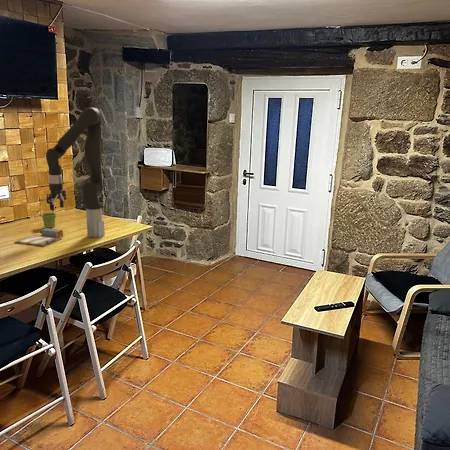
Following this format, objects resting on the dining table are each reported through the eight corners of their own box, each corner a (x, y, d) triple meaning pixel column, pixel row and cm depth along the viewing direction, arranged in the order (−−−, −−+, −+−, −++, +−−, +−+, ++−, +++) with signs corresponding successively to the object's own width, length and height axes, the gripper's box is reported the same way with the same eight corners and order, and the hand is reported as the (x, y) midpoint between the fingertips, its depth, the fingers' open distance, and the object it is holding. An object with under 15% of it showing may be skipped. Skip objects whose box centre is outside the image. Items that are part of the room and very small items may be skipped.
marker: (63, 236, 254) (62, 230, 253) (58, 238, 250) (58, 231, 249) (43, 234, 258) (42, 227, 257) (38, 235, 254) (38, 229, 253)
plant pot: (38, 228, 270) (37, 214, 268) (50, 224, 279) (49, 212, 276) (48, 230, 266) (47, 216, 264) (60, 226, 274) (59, 213, 272)
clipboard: (61, 239, 248) (61, 236, 247) (44, 246, 234) (43, 243, 233) (33, 235, 253) (33, 233, 253) (14, 243, 239) (14, 239, 239)
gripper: (52, 184, 240) (54, 212, 244) (69, 181, 253) (70, 207, 257) (41, 183, 242) (43, 210, 246) (58, 179, 255) (59, 205, 259)
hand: (57, 208), depth 252 cm, fingers open, 8 cm apart
